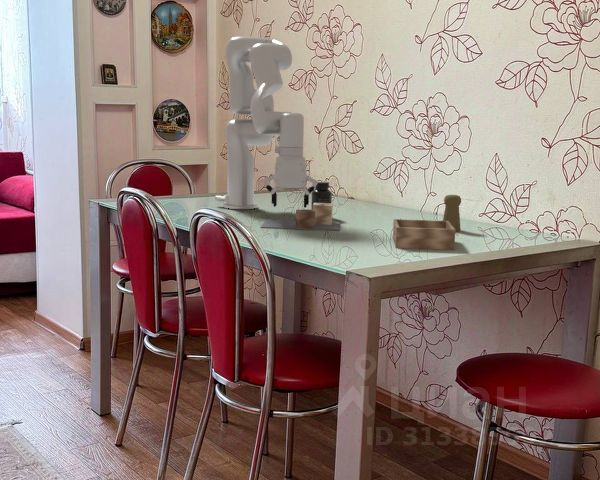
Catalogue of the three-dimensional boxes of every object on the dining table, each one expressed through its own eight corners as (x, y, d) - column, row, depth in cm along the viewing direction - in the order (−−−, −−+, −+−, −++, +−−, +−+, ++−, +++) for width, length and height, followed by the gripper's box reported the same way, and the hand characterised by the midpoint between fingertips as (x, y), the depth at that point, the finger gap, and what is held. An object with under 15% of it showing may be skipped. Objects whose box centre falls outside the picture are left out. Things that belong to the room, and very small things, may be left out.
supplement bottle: (334, 217, 262) (335, 182, 260) (326, 220, 256) (327, 183, 254) (315, 215, 265) (316, 180, 263) (307, 218, 259) (308, 182, 257)
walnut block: (298, 228, 236) (299, 211, 235) (295, 225, 241) (296, 209, 240) (314, 228, 237) (315, 211, 236) (311, 225, 242) (311, 209, 241)
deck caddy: (395, 247, 209) (396, 227, 208) (392, 237, 224) (393, 219, 223) (454, 249, 208) (455, 229, 207) (447, 239, 223) (448, 220, 222)
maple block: (331, 205, 243) (331, 224, 244) (332, 203, 249) (332, 222, 250) (312, 205, 243) (312, 224, 244) (313, 202, 249) (313, 221, 250)
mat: (260, 227, 237) (260, 226, 237) (266, 220, 253) (266, 219, 253) (339, 230, 235) (339, 229, 235) (340, 222, 251) (340, 221, 251)
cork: (461, 229, 243) (464, 194, 241) (459, 232, 237) (461, 196, 235) (442, 228, 245) (444, 193, 243) (439, 230, 239) (441, 195, 237)
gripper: (262, 152, 241) (261, 207, 244) (318, 154, 240) (316, 209, 243) (265, 151, 248) (264, 204, 251) (319, 152, 247) (317, 206, 250)
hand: (290, 206), depth 247 cm, fingers open, 9 cm apart
